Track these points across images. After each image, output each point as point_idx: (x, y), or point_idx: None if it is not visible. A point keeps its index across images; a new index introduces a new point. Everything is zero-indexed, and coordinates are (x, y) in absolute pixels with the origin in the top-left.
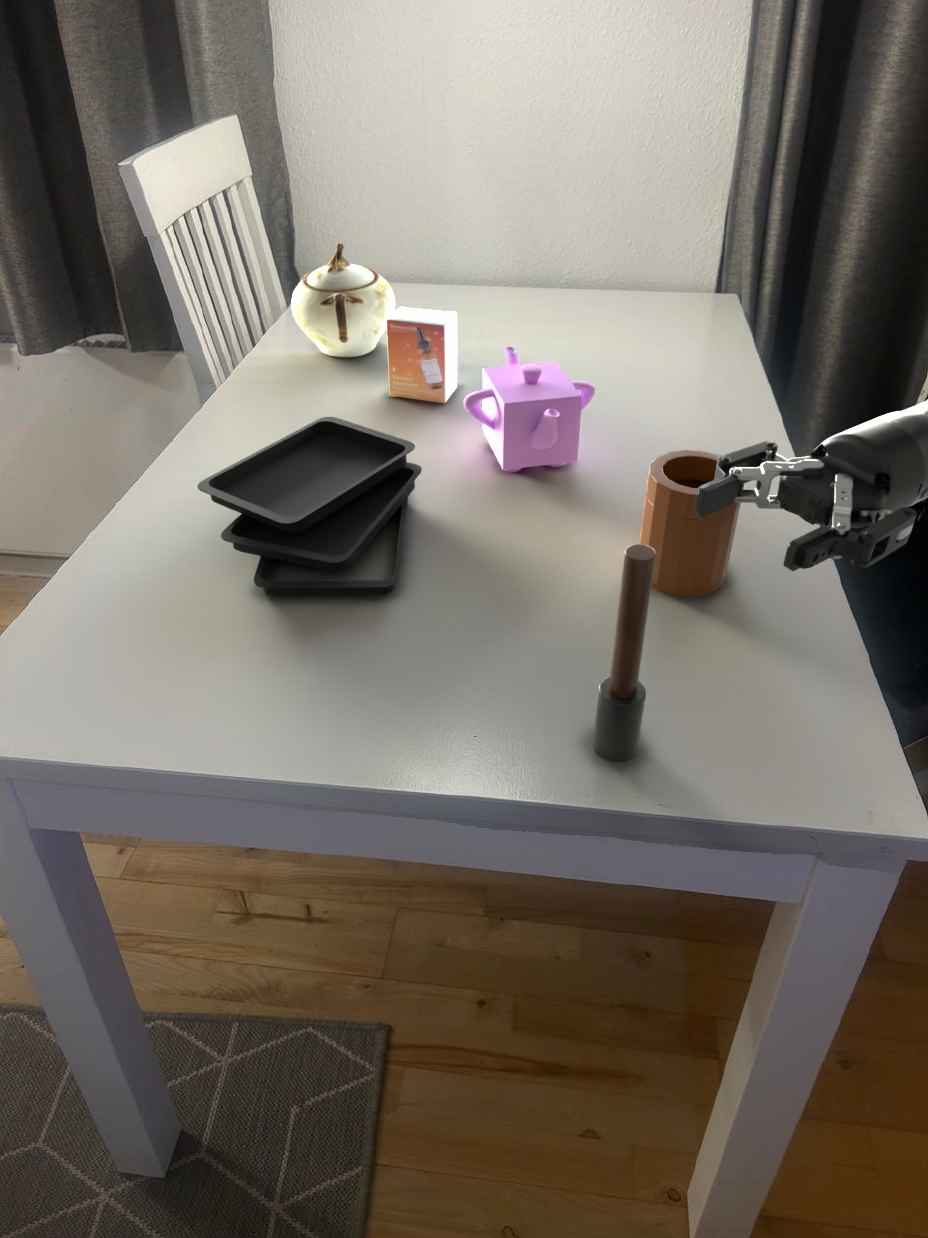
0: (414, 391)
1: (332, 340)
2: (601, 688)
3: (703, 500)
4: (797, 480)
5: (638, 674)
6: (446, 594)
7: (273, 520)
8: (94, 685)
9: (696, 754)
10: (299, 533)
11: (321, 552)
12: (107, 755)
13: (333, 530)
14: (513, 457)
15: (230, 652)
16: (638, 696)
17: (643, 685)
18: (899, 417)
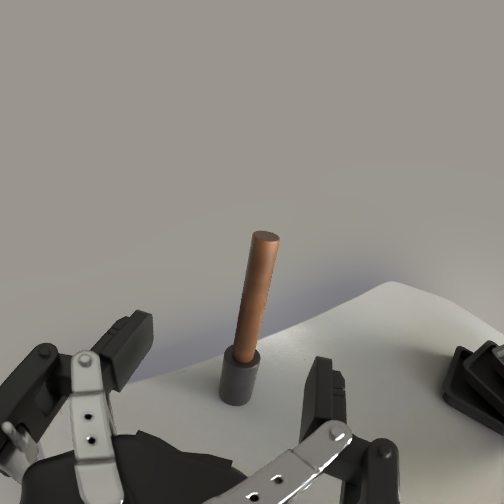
0: None
1: None
2: (255, 350)
3: (313, 362)
4: (216, 485)
5: (234, 342)
6: (432, 424)
7: (495, 347)
8: (416, 301)
9: (183, 415)
10: (496, 376)
11: (479, 376)
12: (377, 289)
13: (497, 389)
14: None
15: (420, 331)
16: (229, 355)
17: (233, 365)
18: None
